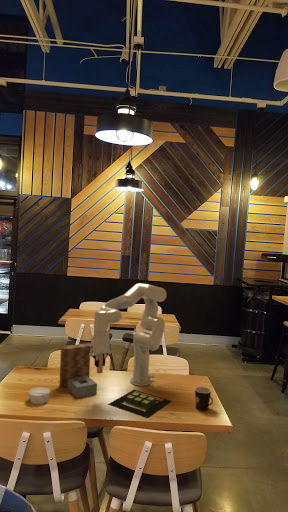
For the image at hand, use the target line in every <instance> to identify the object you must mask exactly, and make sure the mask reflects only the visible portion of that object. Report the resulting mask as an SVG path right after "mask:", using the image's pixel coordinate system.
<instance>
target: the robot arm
mask: <svg viewBox="0 0 288 512" xmlns="http://www.w3.org/2000/svg"><path fill="white" fill-rule="evenodd" d="M167 296H168V295H167V291H166V289H164V288H163V287H159V286H156V285H152V284H149V283H141V282H140V283H139V282H138V283H136V284H134V285H133V286H132V287H130V288H129V289H128V290H127V291H126V292H125V293H123V294H122V295H120V296H118V297H115V298H113V299H110V300H108V301H107V302H106V303H104V305H102V306H101V307H100V308H99V310H95V312H94V320H93V321H94V322H93V324H94V325H93V327H94V328H93V335H91V340H90V344H91V347H90V353H89V356H90V358H92V359H94V366H95V367H96V368H97V367H99V360H98V354H103V367H105V366H106V359H107V357H109V355H110V354H112V351H111V343H110V342H111V341H110V335H109V333H110V332H111V330H110V329H109V324H116V323H119V322H120V321H121V320H122V318H123V314H122V311H120V310H122V309H128V308H131V307H133V306H135V305H136V303H138V301H140V300H141V299H143V301H144V304H145V306H144V310H143V313H142V317H141V319H140V328H141V329H142V330H145V331H142V330H140V331H137V332H135V333H134V334H133V338H132V340H133V352H134V353H133V355H134V356H133V369H132V370H133V374H132V378H131V379H129V380H130V381H129V382H130V383H131V384H132V385H134V386H137V387H138V386H139V387H143V386H144V387H145V386H148V385H150V384H151V382H152V381H151V379H154V378H155V377H156V374H151V373H149V371H150V351H153V352H154V351H157V350H158V349H159V348H160V344H161V343H162V339H163V336H164V332H165V329H166V328H165V326H166V323H165V319H164V318H162V317H160V316H159V317H158V314H159V313H158V312H159V305H158V302H159V303H161V302H164V301H165V300H166V299H167ZM146 331H148V332H146ZM150 332H151V333H150Z"/></svg>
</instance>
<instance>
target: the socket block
mask: <svg viewBox="0 0 288 512" xmlns="http://www.w3.org/2000/svg"><path fill="white" fill-rule="evenodd" d="M66 388H67V391H69V392H70V393H71V394H72V395H73V396H74V397H75V398H76V399H78V398H85V397H88V396H89V397H90V396H94V395H97V393H98V389H97V388H98V383H97V382H95V380H93V379H92V378H90V376H89V377H88V376H81V377H75V378H69V379H68V386H67V387H66Z"/></svg>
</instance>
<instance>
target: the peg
mask: <svg viewBox="0 0 288 512" xmlns="http://www.w3.org/2000/svg"><path fill="white" fill-rule="evenodd" d="M98 360H99V367H96V373H97V374H103V371H104V370H103V369H104V368H103V367H104V366H103V354H98Z"/></svg>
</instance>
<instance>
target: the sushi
mask: <svg viewBox="0 0 288 512" xmlns="http://www.w3.org/2000/svg"><path fill="white" fill-rule="evenodd" d="M171 402H172V400H170V399H167V398H163V397H159V396H157V395H154V394H149V393H148V392H147V393H146V392H144V391H141V390H138V389H133V390H131V391H129V392H127V393H125V394H124V395H122V396H120V397H118V398H116V399H114V400H113V401H110V402H109V403H107V405H109V406H111V407H114V408H117V409H120V410H122V411H126V412H130V414H131V413H132V414H135V415H137V416H140V417H143V418H146V419H149V418H150V417H152V416H154V414H156V413H157V412H159V411H160V410H162V409H163V408H165V407H166V406H168V404H170V403H171ZM124 403H127V404H130V405H133V406H130V405H127V404H124ZM135 406H136V407H138V408H136V407H135ZM139 408H141V409H139ZM142 409H145V410H142Z"/></svg>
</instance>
